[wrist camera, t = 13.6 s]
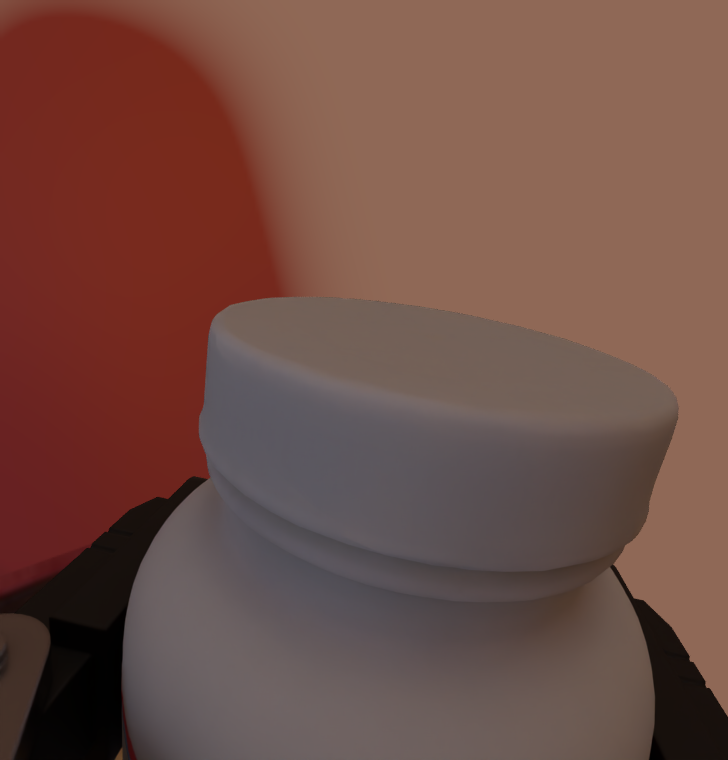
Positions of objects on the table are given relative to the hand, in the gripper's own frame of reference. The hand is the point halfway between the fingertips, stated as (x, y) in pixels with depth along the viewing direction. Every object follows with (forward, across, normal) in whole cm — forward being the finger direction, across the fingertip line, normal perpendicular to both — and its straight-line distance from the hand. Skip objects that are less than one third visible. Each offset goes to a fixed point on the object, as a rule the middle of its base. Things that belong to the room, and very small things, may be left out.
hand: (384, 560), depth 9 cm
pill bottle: (-2, 0, +7) cm, 7 cm away
